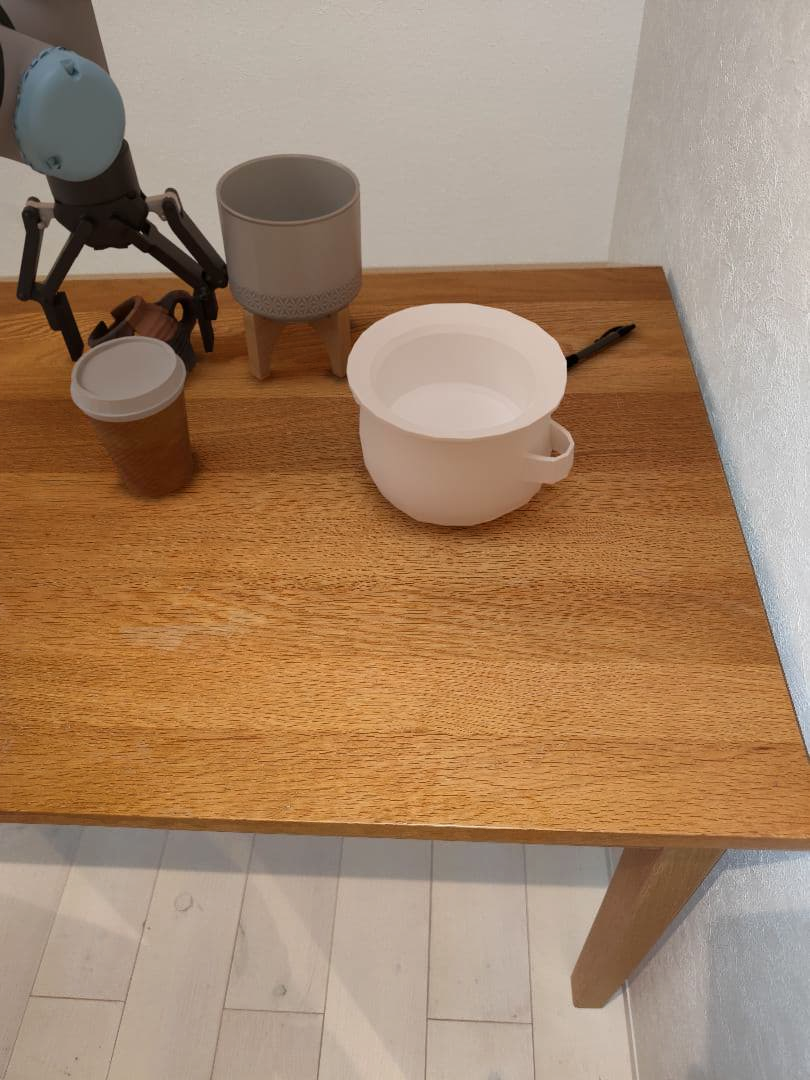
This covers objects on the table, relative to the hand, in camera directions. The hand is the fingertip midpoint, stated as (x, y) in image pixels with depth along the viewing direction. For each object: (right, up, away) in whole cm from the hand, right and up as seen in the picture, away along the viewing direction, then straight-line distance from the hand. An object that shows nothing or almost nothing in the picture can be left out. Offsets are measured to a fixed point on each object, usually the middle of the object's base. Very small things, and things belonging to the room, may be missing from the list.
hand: (144, 349), depth 92 cm
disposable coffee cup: (+4, -14, -10) cm, 17 cm away
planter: (+16, 0, +2) cm, 16 cm away
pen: (+45, -1, -1) cm, 45 cm away
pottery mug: (+1, -1, +1) cm, 2 cm away
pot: (+31, -14, -11) cm, 36 cm away
